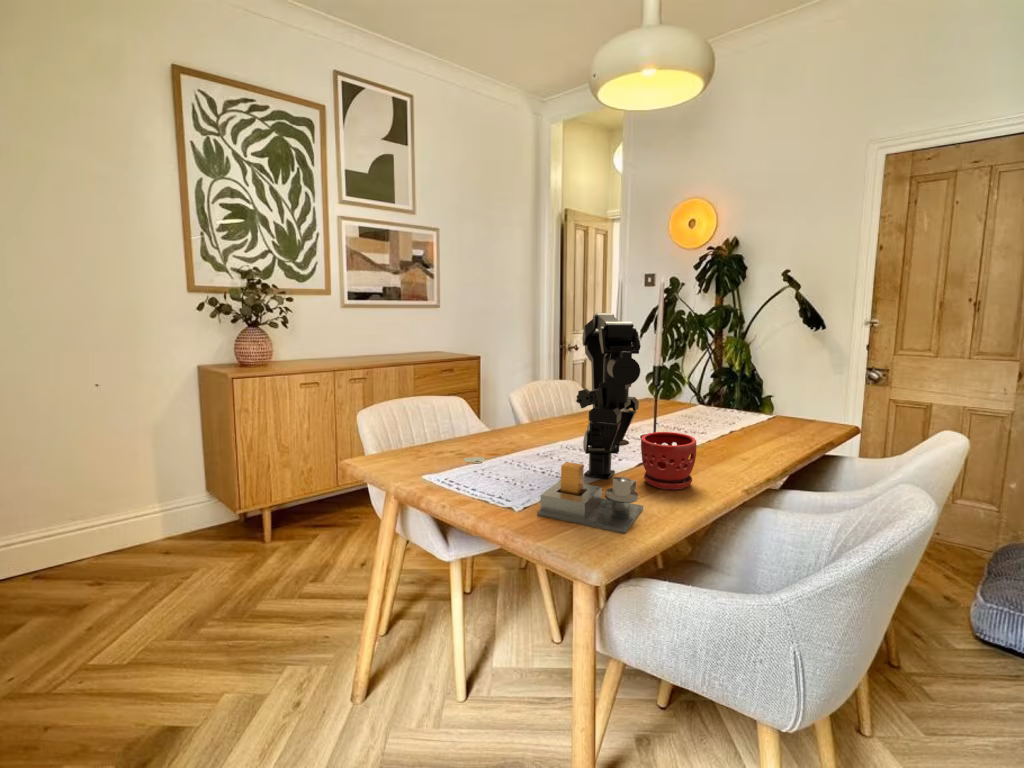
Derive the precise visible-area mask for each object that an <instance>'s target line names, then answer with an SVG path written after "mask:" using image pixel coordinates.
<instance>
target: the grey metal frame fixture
mask: <svg viewBox="0 0 1024 768" xmlns="http://www.w3.org/2000/svg"><path fill="white" fill-rule="evenodd" d="M636 487H637V480H635V479H634V480H633V479H631V478H628V477H625V476H615V477H613V478H612V487H611V488H608V489H606V490H605V491H604V498H603V497H602V496H603V493H602V491H603V487H602V486H598V485H592V484H588V483H583V494H582V495H581V496H575V495H570V494H565V493H561V479H560V480H558V481H557V482H555V484H553V485H552V486H551V487H549V488H548V489H547V490H545V491H544V492H543V493H541V494H540V504H539V505H540V509H538V511H537V512H536V513H537V516H541V517H545V518H546V517H547V518H550V519H554V520H560V521H563V522H567V523H574V524H578V525H582V526H587V527H592V528H596V529H602V530H605V531H611V532H614V533H621V534H626V533H628V531H629V529H630V528H631V527H632V525H633V524H634V522H635V521H636V519H637V518H638V517H639V515H640V514H641V513H642V511H644V505H641V504H635V502H637V501H638V499H639V493H638V492H637V491H636V489H637V488H636Z"/></svg>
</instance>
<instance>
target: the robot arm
mask: <svg viewBox="0 0 1024 768" xmlns="http://www.w3.org/2000/svg"><path fill="white" fill-rule="evenodd" d="M581 338H582V342H581V343H582V346H583V347H584V353H585V355H586V357H587V358H588V360H589V361H590V362H591V364H590V366H591V368H590V369H591V390H589V389H588V388H585V389H580V390H578V391H577V395H576V400H575V401H576V403H577V404H579V406H580V409H584V408H587V407H589V406H592V409H590V410H589V411H588V424H587V426H586V427H587V430H585V432H584V436H583V441H582V443H583V444H582V446H583V447H582V448H583V451H584V453H585V454H587V455H588V456H589V457H588V469H587V471H585V472H583V476H585V477H591V478H592V477H593V478H597V479H598V478H599V479H604V480H609V479H610V478H611V477H612V476H613V475H614V474H615V472H616V471H615V470H613V469H612V454H613V455H615V454H616V455H618V454H619V452H620V445H621V442H622V441H624V439H625V438H624V437H625V436H626V434H627V432H628V430H629V427H630V425H631V423H632V422H633V419H634V418H635V415H636V414H637V410H639V408H640V407H639V405H640V404H639V403H640V401H639V400H638V399H637V398H636V396H629V395H630V394H629V392H630V390H629V389H630V388H631V387H632V384H634V383H635V382H636V381H637V380H638V379H639V378H640V375H641V366H640V364H639V362H638V361H637V360H636V359H634V358H633V355H639V354H640V350H641V347H642V346H641V341H640V336H639V332H638V331H637V328H636V326H634V323H633V322H632V321H620V320H618V318H616V316H615V314H614V313H611V312H596V313H594V314H593V316H592V319H591V320H590V321H589V322H587V323H586V324H585V325H584V327H583V331H582V337H581Z"/></svg>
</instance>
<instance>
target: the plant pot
mask: <svg viewBox="0 0 1024 768" xmlns="http://www.w3.org/2000/svg"><path fill="white" fill-rule="evenodd" d="M673 443H675V444H676V445H673ZM640 452H641V453H640V454H641V460H642V465H643V468H644V470H645V472H644V473H643V478H644V480H645V482H646V483H647V484H649V485H651V486H652V487H655V488H657V489H662V490H677V491H678V490H679V491H680V490H682V489H684V488H687V487H688V486H690V485H691V483H692V482H693V477H692V476H691V473H692V472H693V469H694V466H695V463H696V456H697V439H696V438H695V437H693V436H691V435H689V434H685V433H680V432H675V431H674V432H672V431H657V432H655V431H654V432H649V433H646V434H644V435H642V436H641V438H640Z"/></svg>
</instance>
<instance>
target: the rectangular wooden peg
mask: <svg viewBox="0 0 1024 768" xmlns="http://www.w3.org/2000/svg"><path fill="white" fill-rule="evenodd" d="M560 467H561V468H560V469H561V470H560V480H561V493H565V494H570V495H575V496H581V495H582V494H583V484H584V464H583V463H576V462H575V463H574V462H569V461H566V462H565V463H563V464H562V465H561V466H560Z"/></svg>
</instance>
